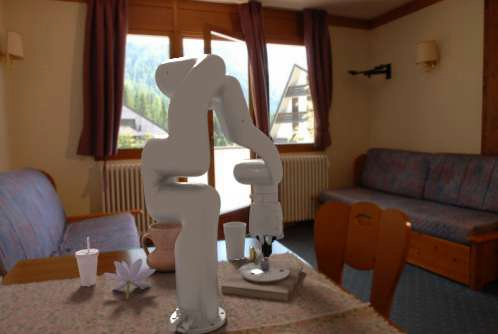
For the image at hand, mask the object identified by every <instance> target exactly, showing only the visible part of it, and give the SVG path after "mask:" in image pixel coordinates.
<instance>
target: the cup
mask: <svg viewBox="0 0 498 334" xmlns="http://www.w3.org/2000/svg"><path fill="white" fill-rule="evenodd" d="M246 232H247V223H246V222H241V221H230V222H226V223H223V234H224V242H225V250H226V251H225V252H226V257H225V258H226V260H227V259H229V260H228V261H230V260H235V259H242V258H244V259H245V251H246V249H245V248H246Z"/></svg>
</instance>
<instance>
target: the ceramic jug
mask: <svg viewBox="0 0 498 334" xmlns="http://www.w3.org/2000/svg"><path fill="white" fill-rule="evenodd" d="M182 227H183V225H180V224H174V223H165V222H155V223H151V224H150V225H149V226H148V231H149V232H146V233H144V234H143V235H142V237H141V246H142V249H143V252H144V253H145V256H146V259H145V263H146V265H147V267H148V268H149V269H156V270H155V272H163V273H168V272H176V270H175V243H176V240H177V237H178V236H179V234H180V232H181V230H182ZM147 238H148V239H149V240H151V241H152V244H153V245H154V249H153V250H152V251H150V250H149V249H148V248H149V247H148V246H147Z"/></svg>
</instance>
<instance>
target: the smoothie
mask: <svg viewBox="0 0 498 334" xmlns="http://www.w3.org/2000/svg"><path fill="white" fill-rule="evenodd" d="M86 240H87V241H86V244H87V245H86V246H87V248H86V249H81V250H78V251H76V252H75V254H74V257H75V258H76V262H77V267H78V273H79V277H80V282H81V283H80V284H81V286H82V287H84V286H88V287H92V286H94V285H96V282H97V269H98V261H99V259H98V258H99V257H98V256H99V254H100V250H99V249H97V248H90V246H91V245H90V236H87V237H86ZM91 285H92V286H91Z"/></svg>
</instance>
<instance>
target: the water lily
mask: <svg viewBox="0 0 498 334" xmlns="http://www.w3.org/2000/svg"><path fill="white" fill-rule="evenodd" d="M113 265H114V266H115V268H116V269H115V272H116V274H117V275H116V274H114V273H111V272H104V273H103V275H104V276H106V277H108V278H110V279H112V280H114V281H118V283H116V284H114V285H113V286H112V288H111V290H112V291H118V290H122V289H123V288H125V287H126V295H125V297H126V300H130V285H132V286H134V287H136V288H145V289H146V288H147V289H148V288H152V286H151V284H150V283H148V282H145V281H142V280H144V279H146V278H148V277H150V276H151V275H153V274H154V273H155V272H156V269H151V268H149V266H147V267H143V268H142V266H143V259H142V258H137V259H136V260H135V261H134V262H133V263H132V264H131V265H130V267H129V265H128V263H126V262H125V261H123V260H122V261H121V262H120V261H116V260H115V261H113Z"/></svg>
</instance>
